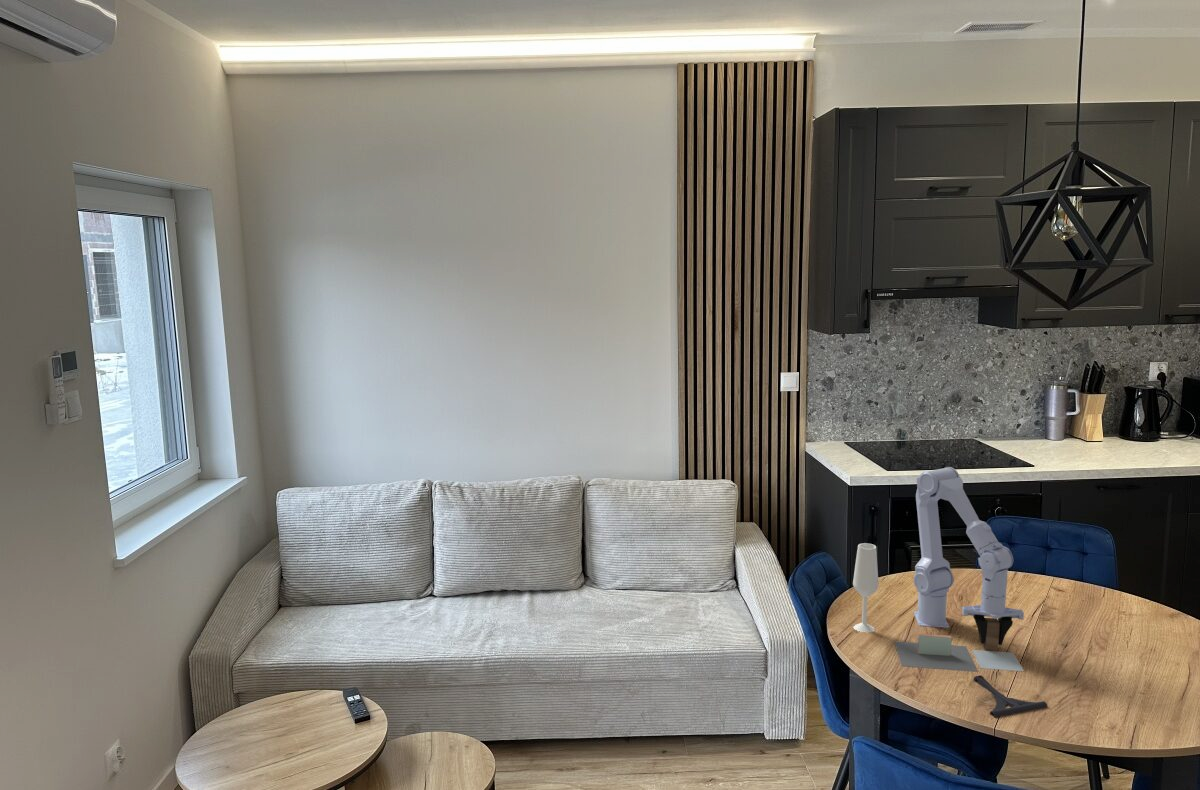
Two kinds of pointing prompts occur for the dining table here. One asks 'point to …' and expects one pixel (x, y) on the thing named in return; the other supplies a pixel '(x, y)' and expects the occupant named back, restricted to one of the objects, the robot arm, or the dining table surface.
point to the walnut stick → (991, 634)
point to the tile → (934, 644)
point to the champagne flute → (865, 579)
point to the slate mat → (935, 658)
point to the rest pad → (997, 660)
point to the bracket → (1008, 701)
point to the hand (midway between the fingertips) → (990, 642)
